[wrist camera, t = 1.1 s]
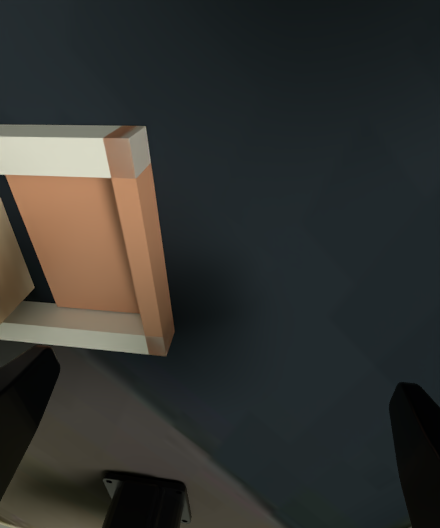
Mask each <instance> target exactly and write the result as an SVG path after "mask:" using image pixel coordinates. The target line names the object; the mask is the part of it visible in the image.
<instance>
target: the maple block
mask: <svg viewBox="0 0 440 528" xmlns="http://www.w3.org/2000/svg"><path fill="white" fill-rule="evenodd" d="M34 288H35V287H34V284H33V282H32V279H31V276H30V274H29V271H28V269H27V266H26V263H25V261H24V258H23V256H22V253H21V250H20V248H19V245H18V243H17V240H16V237H15V235H14V232H13V229H12V227H11V224H10V222H9V219H8V216H7V214H6V211H5V209H4V206H3V203H2V201H1V198H0V325H1V323H2V322H3V321H4V320H5V319H6V318H7V317H8V316H9V315H10V314H11V313H12V312H13V311H14V310H15V308H16V307H17V306H18V305H19V304H20V303H21V302H22V301H23V300H24V299H25V298H26V297H27V296H28V295H29V293H30V292H31V291H32V290H33V289H34Z"/></svg>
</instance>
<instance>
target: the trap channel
mask: <svg viewBox="0 0 440 528" xmlns="http://www.w3.org/2000/svg"><path fill="white" fill-rule="evenodd" d="M0 175H5V176H6V178H7V181H8V183H9V186H10V188H11V191H12V193H13V196H14V198H15V201H16V203H17V206H18V209H19V211H20V214H21V216H22V219H23V221H24V224H25V226H26V229H27V231H28V234H29V236H30V239H31V241H32V244H33V246H34V249H35V251H36V254H37V257H38V259H39V262H40V264H41V267H42V269H43V272H44V274H45V277H46V279H47V282H48V284H49V287H50V289H51V292H52V294H53V297H54V299H55V302H56V304H55V303H43V302H31V301H22V302H21V303H20V304H19V305H18V306H17V307H16V308H15V310H14V311H13V312H12V313H11V314H10V315H9V316H8V317H7V318H6V319H5V320H4V321H3V322H2V323H1V325H0V340H10V341H20V342H30V343H40V344H49V345H59V346H69V347H79V348H89V349H99V350H109V351H119V352H128V353H138V354H148V355H158V356H167V353H168V350H169V347H170V344H171V341H172V338H173V335H174V332H175V330H174V323H173V316H172V309H171V302H170V295H169V287H168V280H167V273H166V266H165V259H164V252H163V245H162V238H161V231H160V224H159V217H158V210H157V203H156V195H155V188H154V181H153V174H152V167H151V160H150V153H149V146H148V139H147V132H146V126H98V125H0Z"/></svg>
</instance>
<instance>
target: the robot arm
mask: <svg viewBox="0 0 440 528" xmlns="http://www.w3.org/2000/svg"><path fill="white" fill-rule="evenodd" d="M59 373H60V364H59V362H58V359H57V357H56V355H55V353H54V350H53V349H52V348H51V347H50V346H43V345H36V346H33V347H32V348H30V349H29V350H27V351H25V352H24V353H22V354H21V355H19V356H18V357H16V358H15V359H13V360H12V361H10V362H9V363H7V364H6V365H4V366H3V367H1V368H0V501H1V499H2V497H3V495H4V493H5V491H6V489H7V487H8V485H9V483H10V481H11V479H12V477H13V475H14V473H15V471H16V470H17V468H18V466H19V464H20V462H21V460H22V458H23V456H24V454H25V452H26V450H27V448H28V446H29V444H30V442H31V440H32V438H33V436H34V434H35V432H36V430H37V428H38V426H39V424H40V421H41V419H42V416H43V414H44V411H45V409H46V406H47V404H48V401H49V399H50V396H51V394H52V391H53V389H54V386H55V384H56V381H57V379H58V376H59ZM389 413H390V419H391V426H392V433H393V439H394V446H395V453H396V460H397V466H398V472H399V478H400V482H401V486H402V490H403V494H404V498H405V502H406V506H407V510H408V513H409V517H410V521H411V525H412V528H440V407H439V406H438V405H437V404H436V403H435V402H434V401H433V400H432V398H431V397H430V396H429V395H428V394H427V393H426V392H425V391H424V390H423V389H422V387H420V386H419V385H418V384H415V383H406V382H400V383H398V385H397V386H396V389H395V391H394V393H393V396H392V398H391V400H390V404H389ZM103 482H104V484H105V486H106V488H107V490H108V492H109V495H110V497H111V499H112V501H111V503H110V506H109V509H108V512H107V515H106V517H105V520H104V523H103V526H102V528H180V523H186V524H189V523H190V522H191V517H192V516H191V511H190V505H189V500H188V494H187V489H186V486H184V485H182V484H178V483H172V482H165V481H159V480H152V479H145V478H139V477H132V476H125V475H119V474H112V473H106V474H105V475H104V478H103Z"/></svg>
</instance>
